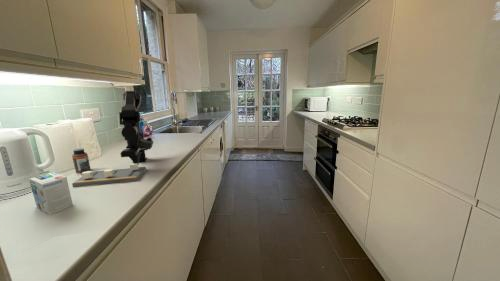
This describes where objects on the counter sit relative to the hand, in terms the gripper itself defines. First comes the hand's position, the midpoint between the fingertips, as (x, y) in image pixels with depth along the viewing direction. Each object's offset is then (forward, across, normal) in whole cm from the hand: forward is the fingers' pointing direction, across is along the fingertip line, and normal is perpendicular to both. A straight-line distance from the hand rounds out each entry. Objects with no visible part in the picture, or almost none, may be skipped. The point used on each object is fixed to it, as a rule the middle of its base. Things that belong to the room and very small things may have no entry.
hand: (137, 165), depth 103 cm
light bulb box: (+3, -30, +18) cm, 35 cm away
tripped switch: (+1, -4, 0) cm, 4 cm away
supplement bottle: (+3, +6, +28) cm, 28 cm away
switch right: (+1, -10, +17) cm, 20 cm away
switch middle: (+1, -10, +9) cm, 13 cm away
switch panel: (+3, -7, +8) cm, 11 cm away
